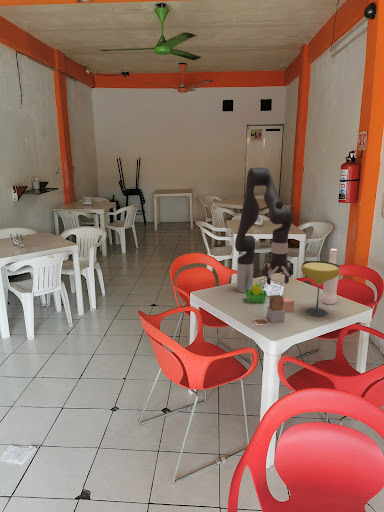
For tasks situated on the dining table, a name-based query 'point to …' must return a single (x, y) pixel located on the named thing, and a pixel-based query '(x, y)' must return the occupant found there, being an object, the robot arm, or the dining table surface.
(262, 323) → the tile
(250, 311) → the dining table surface
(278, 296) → the walnut block
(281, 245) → the robot arm
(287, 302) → the terracotta block
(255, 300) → the fruit basket
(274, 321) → the grey block
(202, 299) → the dining table surface
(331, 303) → the bottle
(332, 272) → the cocktail glass
